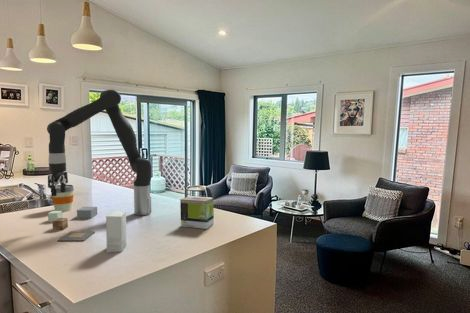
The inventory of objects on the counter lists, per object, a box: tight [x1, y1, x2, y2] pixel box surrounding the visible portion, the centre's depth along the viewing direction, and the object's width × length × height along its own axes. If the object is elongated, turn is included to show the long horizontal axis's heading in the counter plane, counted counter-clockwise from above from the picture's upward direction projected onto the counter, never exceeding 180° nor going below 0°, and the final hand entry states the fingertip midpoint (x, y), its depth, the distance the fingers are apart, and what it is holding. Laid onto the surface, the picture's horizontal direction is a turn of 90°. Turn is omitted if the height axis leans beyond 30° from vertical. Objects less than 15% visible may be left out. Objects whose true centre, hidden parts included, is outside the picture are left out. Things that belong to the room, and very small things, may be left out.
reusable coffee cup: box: [51, 184, 75, 213], centre depth 195 cm, size 13×13×15 cm
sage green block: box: [47, 210, 63, 223], centre depth 174 cm, size 5×5×5 cm
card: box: [56, 230, 96, 242], centre depth 149 cm, size 12×12×1 cm
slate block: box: [76, 206, 98, 220], centre depth 182 cm, size 8×8×5 cm
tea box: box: [179, 195, 215, 230], centre depth 166 cm, size 15×10×15 cm
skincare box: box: [105, 210, 127, 253], centre depth 134 cm, size 8×7×16 cm
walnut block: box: [51, 217, 69, 231], centre depth 160 cm, size 5×5×5 cm
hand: (58, 194), depth 159 cm, fingers open, 8 cm apart
